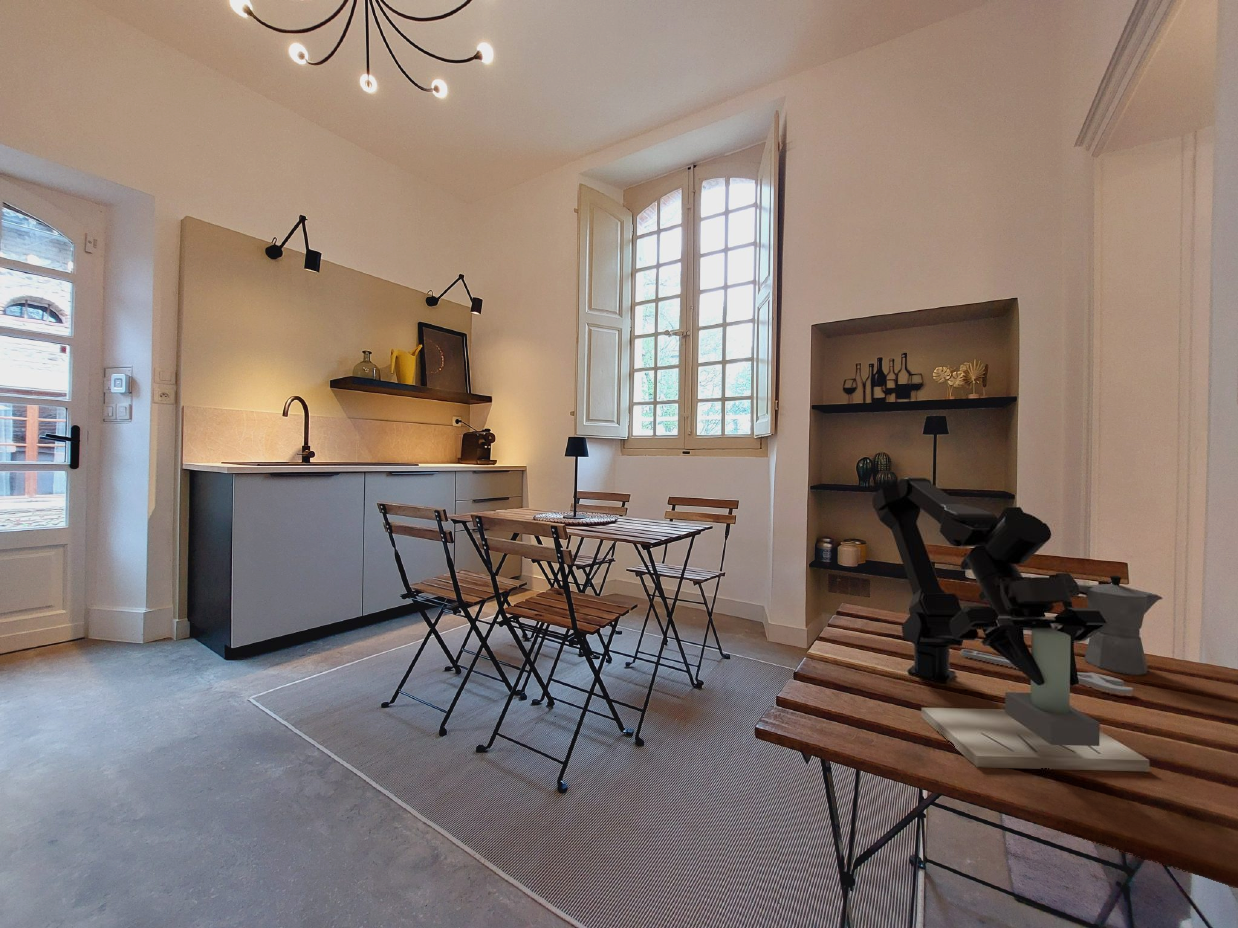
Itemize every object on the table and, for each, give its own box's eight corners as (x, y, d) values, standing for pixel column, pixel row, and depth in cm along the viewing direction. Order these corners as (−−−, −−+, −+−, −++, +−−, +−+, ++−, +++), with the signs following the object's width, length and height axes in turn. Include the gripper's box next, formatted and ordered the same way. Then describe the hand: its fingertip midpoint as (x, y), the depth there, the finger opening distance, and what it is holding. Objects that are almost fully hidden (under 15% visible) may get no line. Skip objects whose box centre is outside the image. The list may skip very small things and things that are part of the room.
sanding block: (1050, 744, 64) (1052, 643, 64) (1005, 712, 72) (1006, 623, 72) (1099, 745, 64) (1100, 644, 64) (1048, 713, 72) (1049, 623, 72)
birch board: (921, 716, 79) (921, 707, 79) (1064, 720, 78) (1064, 710, 78) (976, 766, 66) (976, 755, 66) (1149, 771, 65) (1149, 759, 65)
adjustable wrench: (958, 658, 104) (958, 650, 104) (968, 651, 108) (968, 643, 108) (1130, 701, 85) (1130, 690, 85) (1133, 690, 90) (1132, 680, 90)
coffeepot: (1150, 663, 101) (1150, 574, 101) (1173, 681, 92) (1174, 584, 92) (1051, 649, 108) (1051, 566, 108) (1065, 665, 100) (1065, 575, 100)
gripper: (963, 550, 72) (1019, 659, 61) (1098, 552, 71) (1179, 662, 60) (930, 589, 80) (975, 691, 69) (1050, 591, 79) (1115, 694, 68)
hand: (1058, 684), depth 66 cm, fingers closed on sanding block, 4 cm apart
